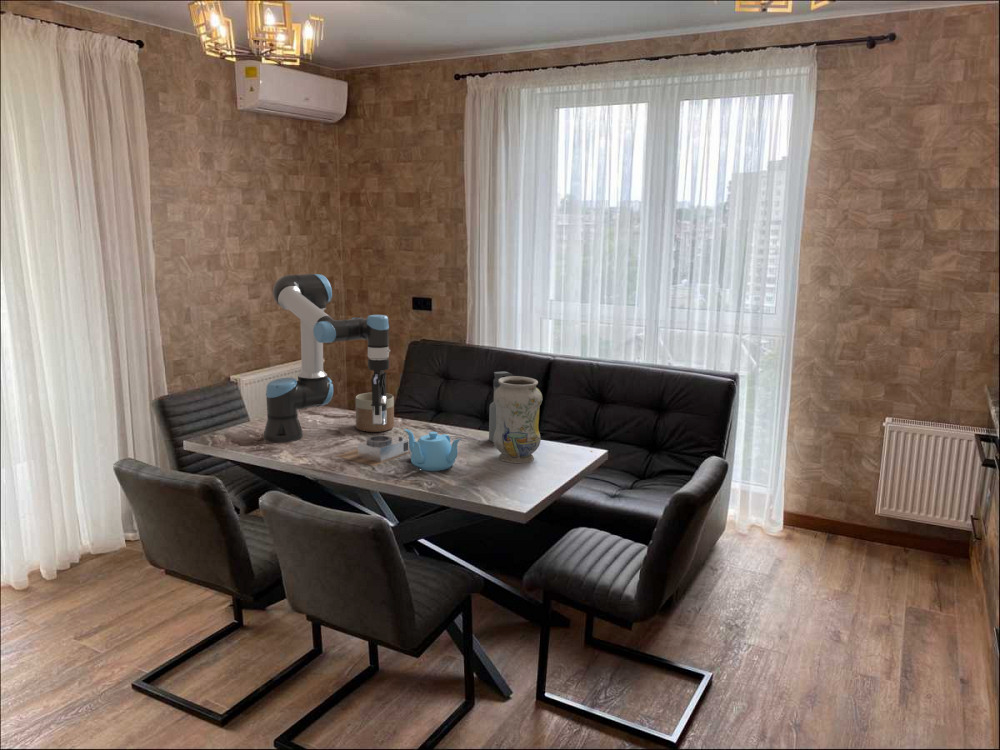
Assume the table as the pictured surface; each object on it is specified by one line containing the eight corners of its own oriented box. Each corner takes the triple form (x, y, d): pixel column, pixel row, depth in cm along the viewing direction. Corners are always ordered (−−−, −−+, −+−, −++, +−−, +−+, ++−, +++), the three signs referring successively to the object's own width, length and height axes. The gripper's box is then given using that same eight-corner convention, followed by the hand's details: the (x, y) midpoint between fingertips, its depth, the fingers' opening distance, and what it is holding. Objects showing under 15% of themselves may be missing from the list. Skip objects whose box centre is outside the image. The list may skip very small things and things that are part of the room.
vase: (545, 465, 274) (547, 384, 268) (496, 466, 271) (498, 385, 265) (534, 450, 291) (537, 374, 285) (489, 452, 288) (490, 375, 282)
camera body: (357, 456, 275) (357, 439, 274) (385, 447, 288) (385, 430, 286) (380, 462, 269) (380, 444, 268) (408, 452, 282) (408, 435, 280)
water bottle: (507, 436, 311) (508, 369, 306) (518, 442, 302) (519, 373, 297) (485, 438, 307) (486, 371, 301) (495, 444, 298) (496, 375, 293)
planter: (390, 433, 311) (390, 401, 309) (352, 432, 311) (352, 400, 309) (396, 423, 327) (396, 392, 324) (360, 422, 327) (359, 391, 324)
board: (335, 459, 276) (335, 456, 275) (373, 446, 292) (373, 443, 292) (374, 469, 265) (373, 465, 265) (410, 455, 282) (410, 452, 281)
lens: (371, 424, 272) (370, 397, 270) (374, 421, 277) (373, 394, 275) (385, 425, 271) (384, 397, 270) (388, 421, 276) (387, 394, 275)
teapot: (412, 475, 260) (412, 440, 258) (404, 459, 277) (404, 427, 275) (460, 471, 264) (461, 438, 262) (450, 456, 282) (450, 424, 280)
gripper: (383, 362, 261) (384, 427, 265) (394, 354, 278) (394, 415, 283) (362, 362, 261) (363, 427, 265) (373, 354, 279) (375, 415, 283)
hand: (379, 421), depth 274 cm, fingers closed on lens, 5 cm apart
